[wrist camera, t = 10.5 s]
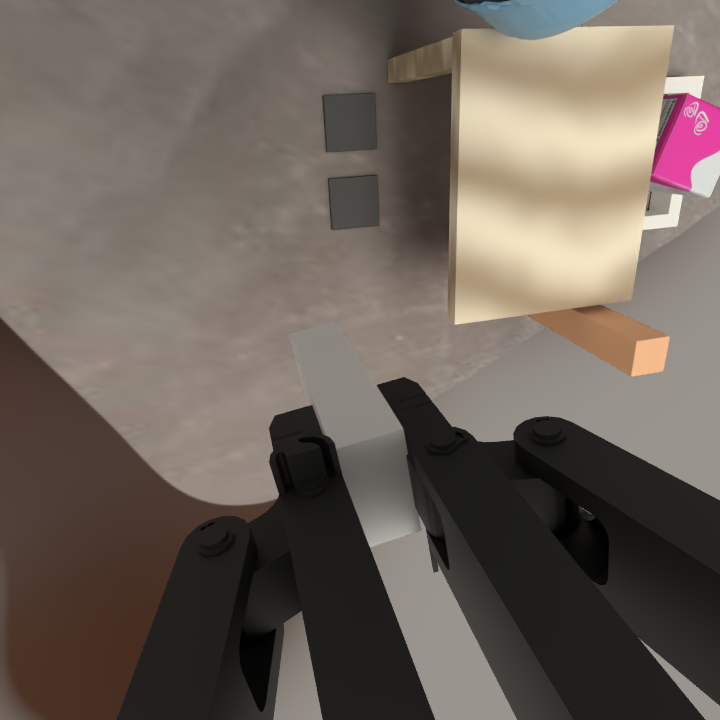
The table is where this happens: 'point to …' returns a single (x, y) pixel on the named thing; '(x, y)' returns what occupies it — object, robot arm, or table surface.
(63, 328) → the table surface
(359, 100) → the plate
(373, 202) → the plate
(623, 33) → the small wooden stool
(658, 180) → the supplement box
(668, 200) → the sled
